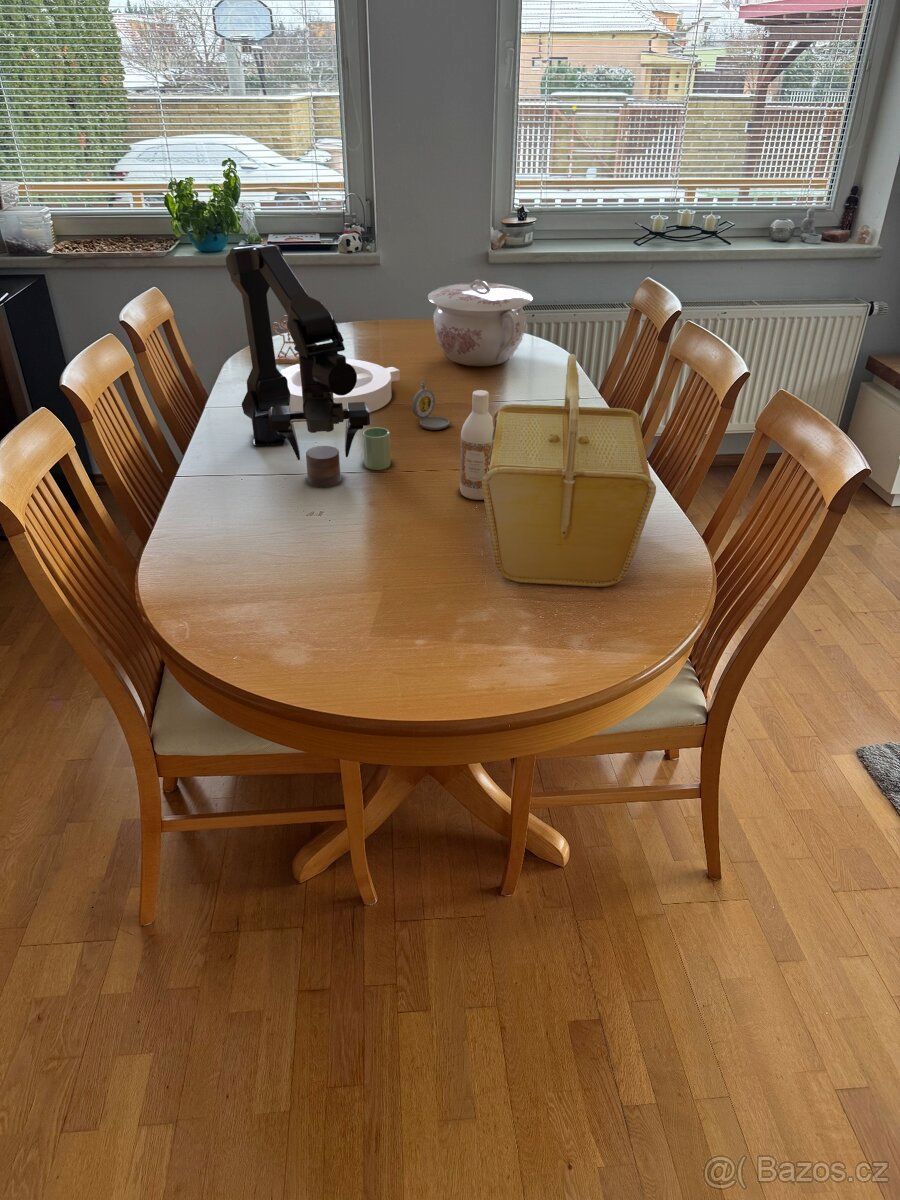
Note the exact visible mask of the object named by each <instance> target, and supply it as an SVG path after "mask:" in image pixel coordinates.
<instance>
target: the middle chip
mask: <svg viewBox="0 0 900 1200" xmlns="http://www.w3.org/2000/svg"><path fill="white" fill-rule="evenodd" d="M306 472H307V475H308V474H309V475H310V476H312V477H316V478H329V477H333V476H335V475H337V474H338V473H339V472H340V473H341V463H340V461H339V463H338V464H337V465H336V466H333V467H330V468H322V469H320V468H313V467H310V466H309V465H307V464H306Z"/></svg>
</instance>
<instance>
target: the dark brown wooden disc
mask: <svg viewBox="0 0 900 1200" xmlns="http://www.w3.org/2000/svg"><path fill="white" fill-rule="evenodd" d="M305 460H306V461H305V462H306V466H307V465H309V466H310V467H313V468H320V469H322V468H330V467H333V466H336V465H337V464H338V463H339V461H340V451H339V449H338V448H336V447H334V446H331V445H319V446H313V447H310V448H308V449H307V450H306V451H305Z"/></svg>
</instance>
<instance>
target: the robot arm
mask: <svg viewBox="0 0 900 1200" xmlns="http://www.w3.org/2000/svg"><path fill="white" fill-rule="evenodd" d="M225 266H226V269H227V271H228V273H229V276H230V280H231V282H232V284H233V286H234V287H235V288H236V289H237V290H238V292H239V293H240V294H241V299H242V304H243V305H242V306H243V311H244V317H245V326H246V331H247V339H248V345H249V353H250V359H251V367H252V368H251V370H250V373H249V375H248V377H247V379H246V394H245V396H244V398H243V400H242V402H241V409H242V412H243V415H245V416H246V417H248V418H249V419H250V420H251V425H252V433H253V446H254V447H264V446H265V447H266V446H283V445H285V444H286V442H285V441H286V439H287V441H288V442H289V444H290V446H291V448H292V450H293V453H294V455H295V457H296V459H297V461H300V460H301V455H300V454H301V453H300V447H299V442H298V438H297V437H298V436H297V434H296V429H295V424H294V423H302V422H306V430H307V432H309V433H311V434H315V433H319V432H325V433H330V432H331V433H332V432H333V431H334V430H335V426H334V425H339V424H340V423H344V421H345V437H344V454H345V456H344V457H345V458H348V457H349V454H350V450H351V447H352V443H353V440H354V438H355V436H356V435H357V432H358V431H360V430H363V429H364V427H365V426H367V427H368V426H370V425H371V416H370V412H369V408H368V405H367V404H366V403H365V402H352V403H347V409H343V405H342V403H334V399H333V393H334V394H336V395H342V396H343V395H346V394H348V393H350V392H351V391H352V390H353V388H354V387H355V385H356V382H357V374H356V372H355V369H354V368H353V367H352V366H351V365H350V364H348V363H346V359H347V358H346V355H344V354H340V352H344V351H345V350H346V347H345V345H344V338H343V336H342V333H341V331H340V329H339V327H338V324H337V323H336V321H335V319H334V316H333V315H332V313H331V312H330V311H329V310H328V309H327V308H326V306H325V305H324V304H323V303H322V302H321V301H319V300H318V299H316V298H313V297H311V296H309V294H308V293H307V291H306V290H305V289H304V287H303V285H302V284H301V282H300V281H299V279H298V278H297V276H296V275H295V273H294V272H293V270H292V269H291V267H290V265H289V264H288V262H287V261H286V259H285V258H284V254H283V250H282V249H281V247H280V246H279V245H275V244H269V245H263V244H257V245H250V246H248V245H247V246H240V247H233V248H231V249H230V251H229V253H228V254H227V255H226V257H225ZM269 289H271V291H272V293H273V294H274V296H275V297H276V298H277V300H278V301H279V304H280V305H281V306H282V308H283V309H284V311H285V313H286V315H288V317H287V320H286V321H287V323H286V325H287V327H288V329H289V332H290V338H291V339H292V342H293V341H294V343H295V344H296V346H295V345H294V347H293V350H294V352H296V353H297V352H299V354H298V356H299V364H300V375H301V386H302V397H303V411H297V412H290V390H289V388H288V382H287V379H286V377H285V376H283V375H282V374H281V373H280V371H281V370H279V369H278V367H277V363H276V361H275V357H276V353H275V347H274V339H273V331H272V325H271V317H270V309H269V301H268V292H269ZM287 327H286V328H287ZM329 341H330V342H329Z"/></svg>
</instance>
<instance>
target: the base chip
mask: <svg viewBox="0 0 900 1200" xmlns="http://www.w3.org/2000/svg"><path fill="white" fill-rule="evenodd" d="M341 481H342V476H341V471H340V472H339V473H338V474H337V475H335V476H333V477H329V478H316V477H312V476H310V475H309V474H308V473H307V482H308V484H309V485H310V486H312V487H316V488H330V487H334V486H337V485H338V484H340V482H341Z"/></svg>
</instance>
